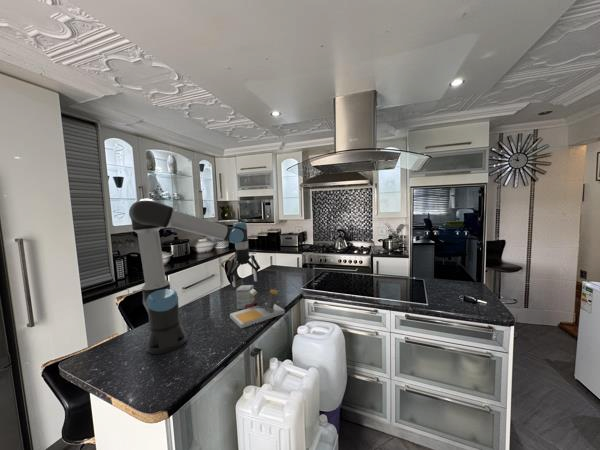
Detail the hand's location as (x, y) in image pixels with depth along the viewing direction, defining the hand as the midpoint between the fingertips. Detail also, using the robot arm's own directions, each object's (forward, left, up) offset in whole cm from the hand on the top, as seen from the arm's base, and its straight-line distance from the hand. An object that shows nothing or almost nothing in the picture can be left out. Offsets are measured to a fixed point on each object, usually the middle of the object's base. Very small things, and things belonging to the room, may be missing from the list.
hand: (245, 283), depth 146 cm
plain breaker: (+5, -11, -10) cm, 16 cm away
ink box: (0, 0, -14) cm, 14 cm away
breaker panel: (-1, -17, -14) cm, 21 cm away
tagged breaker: (+5, -20, -10) cm, 23 cm away
